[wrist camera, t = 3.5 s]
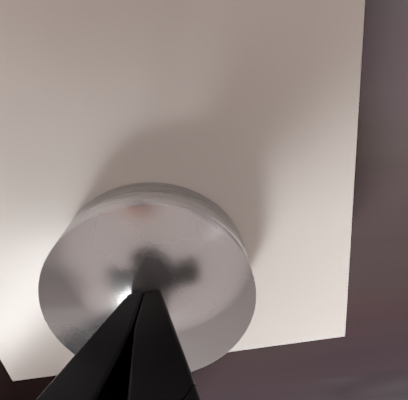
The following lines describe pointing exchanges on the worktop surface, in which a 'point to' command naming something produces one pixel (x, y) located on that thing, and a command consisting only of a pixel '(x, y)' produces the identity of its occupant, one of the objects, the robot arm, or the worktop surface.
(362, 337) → the worktop surface
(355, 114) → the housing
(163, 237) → the plug
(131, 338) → the robot arm
